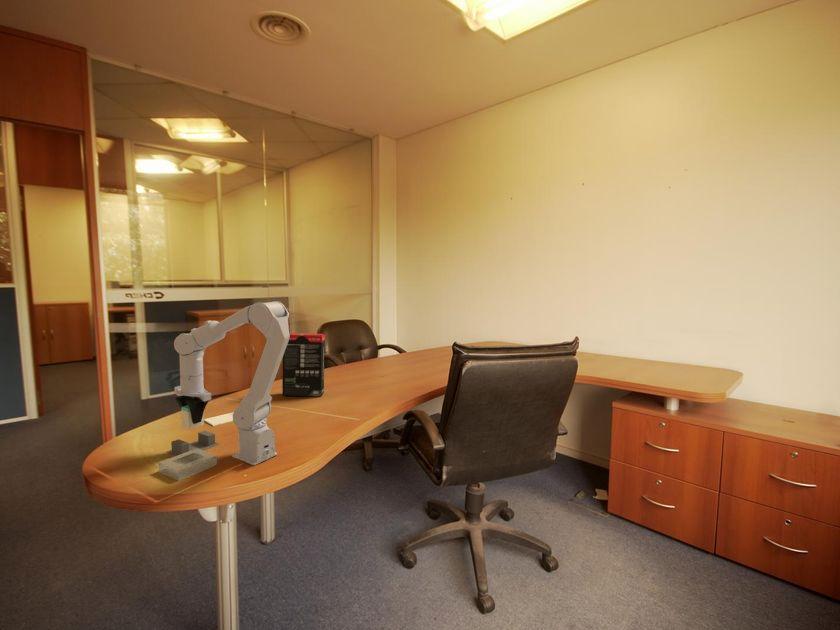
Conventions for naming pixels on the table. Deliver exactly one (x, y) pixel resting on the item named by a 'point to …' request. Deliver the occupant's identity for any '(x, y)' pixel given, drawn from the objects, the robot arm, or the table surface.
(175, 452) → the holster
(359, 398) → the table surface
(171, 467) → the port
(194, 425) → the plug
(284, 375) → the graphics card box
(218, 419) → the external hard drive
